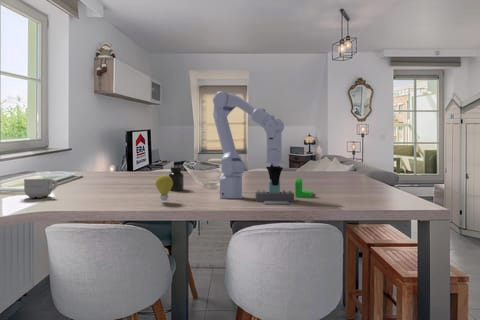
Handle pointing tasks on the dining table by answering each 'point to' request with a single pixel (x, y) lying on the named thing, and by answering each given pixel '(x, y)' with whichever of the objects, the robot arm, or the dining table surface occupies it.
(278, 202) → the pad
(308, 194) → the mechanical part
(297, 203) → the dining table surface
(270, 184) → the plug
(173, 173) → the supplement bottle
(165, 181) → the light bulb
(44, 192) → the teacup
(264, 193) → the box
